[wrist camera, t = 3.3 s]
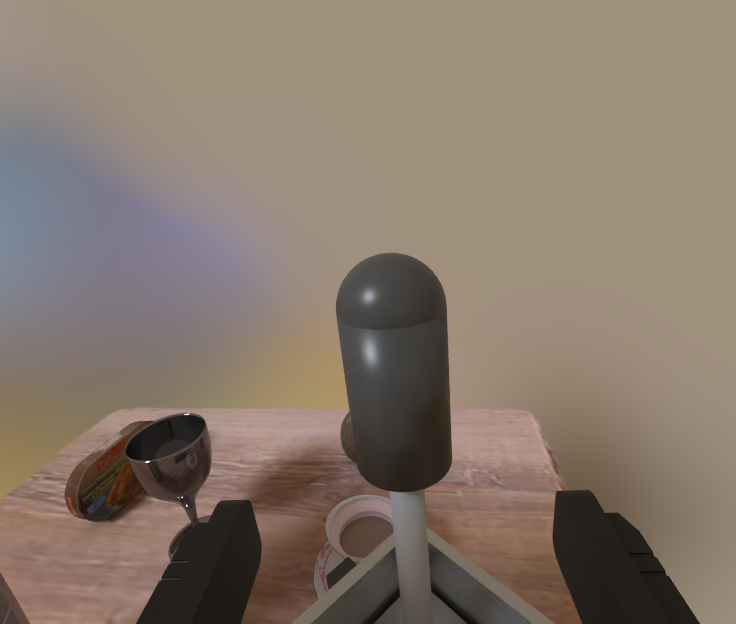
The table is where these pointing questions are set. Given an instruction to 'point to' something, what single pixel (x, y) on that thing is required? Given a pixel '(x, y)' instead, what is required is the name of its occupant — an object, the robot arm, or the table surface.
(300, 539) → the table surface
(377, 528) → the teacup
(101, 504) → the tin
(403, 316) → the screwdriver
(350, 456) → the vase
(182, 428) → the wine glass
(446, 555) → the square planter box
